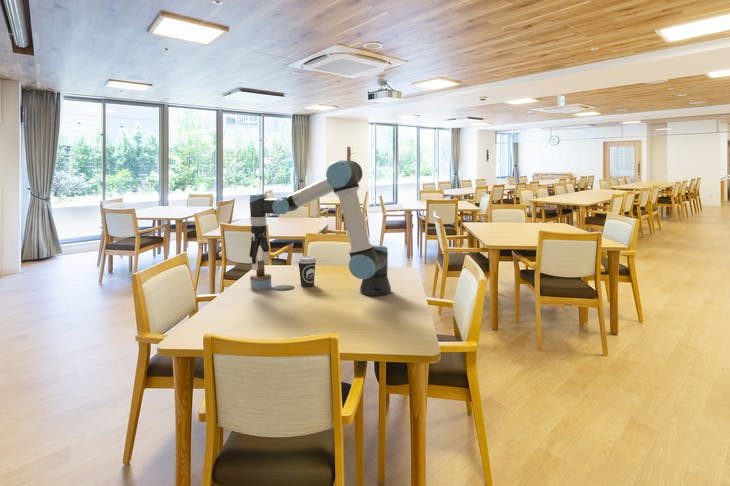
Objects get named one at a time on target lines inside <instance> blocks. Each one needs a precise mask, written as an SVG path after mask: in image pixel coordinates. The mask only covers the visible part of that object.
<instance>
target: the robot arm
mask: <svg viewBox="0 0 730 486" xmlns="http://www.w3.org/2000/svg"><path fill="white" fill-rule="evenodd" d="M362 179H363V169H362V166H361V165H360V164H359V163H358V162H356V161H354V160H342V159H341V160H337V161H334V162H332V163H331V164H330V165H329V166H328V167H327V169H326V172H325V177H324V178H323V179H320V180H318V181H317V182H314V183H312V184H310V185H308V186H306V187H304V188H302V189H300V190H298V191H295V192H294V193H292V194H290V195H288V196H283V197H276V198H275V197H274V198H273V197H272V198H270V197H269V198H267V197H266V194H264V193H251V194H250V195H249V209H250V210H249V211H250V217H249V221H250V232H251V234H253V236H251V239H250V240H251V242H250V248H249V257H250V258H251V270H252V271H256V270H258V260H259V258H258V252H259V248H261V250H262V251H261V260H264V265H268V264H269V261H268V258H269V257H268V252H270V247H269V242H268V237H267V214H268V215H270V214H272V215H286V214H287V213H289V212H294V211H296V210H298V209H299V208H301V207H303V206H304V205H305V206H306V205H307V204H309V203H311V202H314V201H315V200H317V199H320V198H322V197H325V196H326V195H329V194H330V193H333V194H334V195H336V196H338V199H339V200H338V201H339V204H340V207H341V211H342V212H341V213H342V217H343V220H344V224H345V227H346V232H347V236H348V239H349V243H350V250H349V251H348V253H349V257H350V258H349V259H350V260H349V262H348V270H349V272H350V273H351V275H352V276H353V277H355V278H356V279H359V280H361V284H360V286H359V293H360V294H362V295H365V296H370V297H381V296H382V297H383V296H387V295H390V294H392V287H391V283H390V281H389V277H388V268H389V267H388V265H389V264H388V260H389V257H388V255H389V252H388V247H387V246H385V245H373V244H372V243H371V242H370V240H369V236H368V232H367V228H366V223H365V219H364V216H363V211H362V206H361V203H360V199H359V195H358V191H359V189H360V185H359V183H360V181H361V180H362Z"/></svg>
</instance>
